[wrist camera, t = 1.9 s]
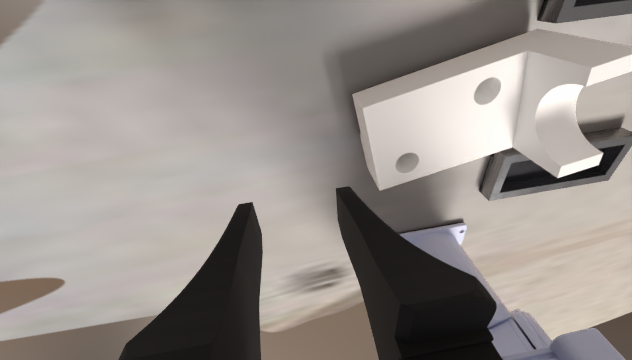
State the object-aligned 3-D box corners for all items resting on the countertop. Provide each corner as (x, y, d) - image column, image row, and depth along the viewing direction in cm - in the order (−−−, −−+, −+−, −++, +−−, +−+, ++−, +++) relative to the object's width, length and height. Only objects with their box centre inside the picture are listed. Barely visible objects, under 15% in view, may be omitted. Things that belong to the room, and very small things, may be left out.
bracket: (526, 26, 19) (646, 49, 13) (513, 116, 24) (598, 164, 18) (348, 89, 20) (384, 138, 14) (366, 165, 24) (400, 228, 18)
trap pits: (594, 171, 29) (608, 180, 27) (479, 191, 28) (488, 200, 27) (763, -100, 17) (802, -106, 16) (571, -80, 16) (596, -85, 15)
